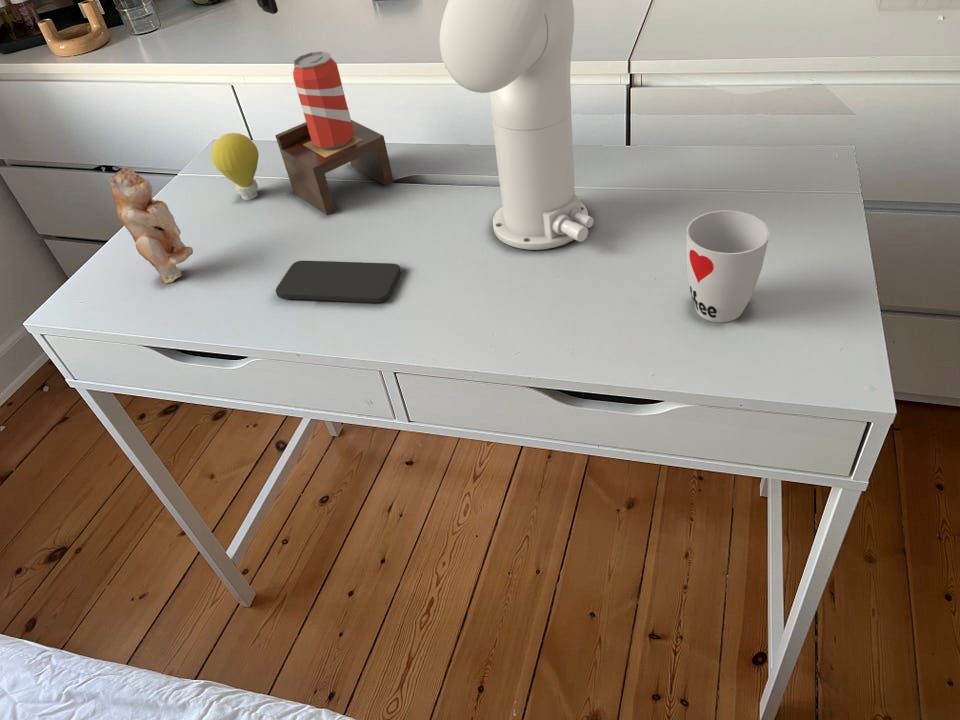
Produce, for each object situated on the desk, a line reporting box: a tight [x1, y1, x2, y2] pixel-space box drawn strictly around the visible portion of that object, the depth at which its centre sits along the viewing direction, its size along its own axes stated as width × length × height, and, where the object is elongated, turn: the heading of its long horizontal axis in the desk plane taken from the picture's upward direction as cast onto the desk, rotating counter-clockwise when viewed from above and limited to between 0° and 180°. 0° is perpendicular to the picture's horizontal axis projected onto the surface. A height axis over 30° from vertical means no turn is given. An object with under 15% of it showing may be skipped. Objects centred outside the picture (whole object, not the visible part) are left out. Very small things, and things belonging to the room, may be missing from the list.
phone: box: [275, 260, 402, 304], centre depth 98 cm, size 7×1×15 cm
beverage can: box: [292, 50, 354, 149], centre depth 108 cm, size 6×6×12 cm
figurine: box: [108, 166, 194, 284], centre depth 100 cm, size 6×8×15 cm
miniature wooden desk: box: [275, 109, 395, 216], centre depth 114 cm, size 10×12×10 cm
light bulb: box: [211, 132, 260, 201], centre depth 115 cm, size 7×7×10 cm
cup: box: [685, 209, 770, 323], centre depth 82 cm, size 8×8×10 cm
